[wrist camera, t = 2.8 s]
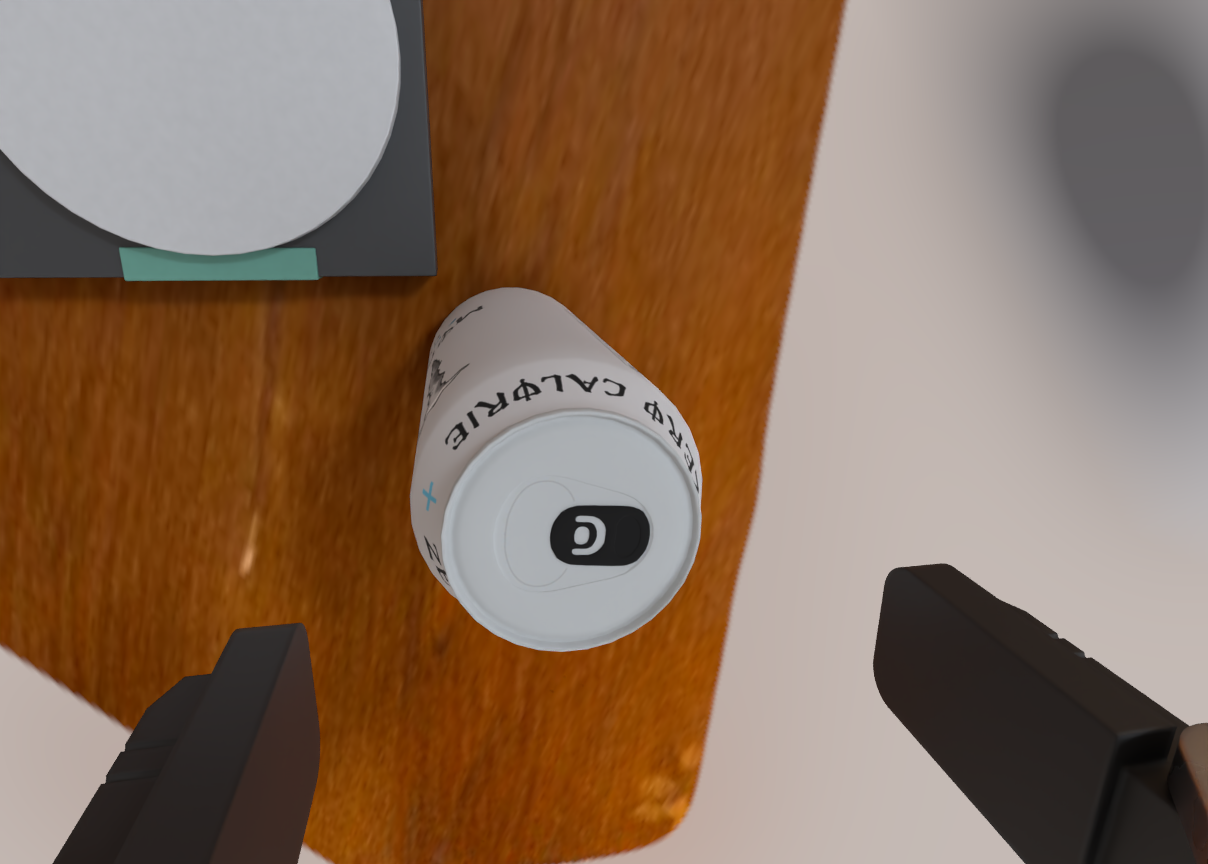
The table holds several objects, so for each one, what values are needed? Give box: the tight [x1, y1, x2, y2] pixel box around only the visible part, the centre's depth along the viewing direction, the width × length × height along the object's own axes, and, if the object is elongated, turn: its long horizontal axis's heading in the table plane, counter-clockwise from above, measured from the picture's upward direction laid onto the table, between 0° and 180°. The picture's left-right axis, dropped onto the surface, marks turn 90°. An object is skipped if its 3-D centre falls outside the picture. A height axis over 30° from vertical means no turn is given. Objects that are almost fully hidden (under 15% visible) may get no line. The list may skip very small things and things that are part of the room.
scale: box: [0, 0, 438, 281], centre depth 21 cm, size 13×13×3 cm
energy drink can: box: [410, 288, 702, 652], centre depth 20 cm, size 6×6×15 cm
